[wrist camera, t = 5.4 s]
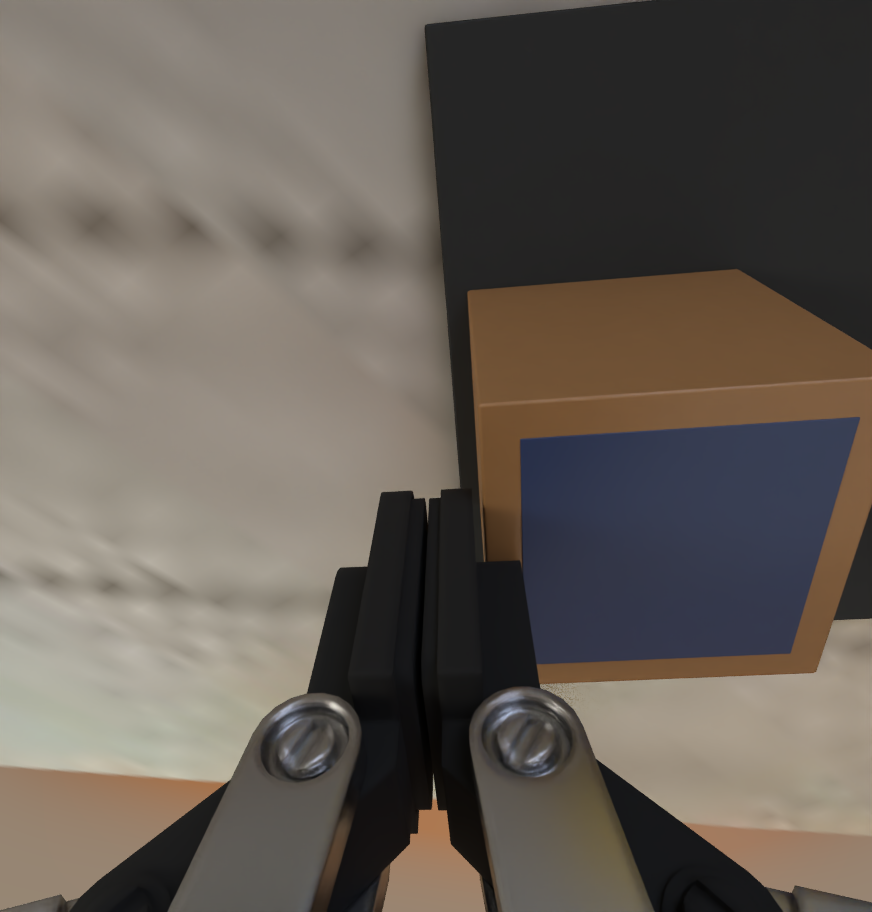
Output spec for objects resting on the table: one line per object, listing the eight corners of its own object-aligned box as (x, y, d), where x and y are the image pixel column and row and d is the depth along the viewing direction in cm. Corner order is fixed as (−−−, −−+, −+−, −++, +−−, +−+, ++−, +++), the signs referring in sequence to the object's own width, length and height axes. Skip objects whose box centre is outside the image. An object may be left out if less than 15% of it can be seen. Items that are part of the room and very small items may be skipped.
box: (480, 506, 17) (492, 688, 12) (467, 289, 14) (477, 405, 9) (702, 493, 17) (817, 675, 11) (738, 268, 14) (918, 375, 8)
